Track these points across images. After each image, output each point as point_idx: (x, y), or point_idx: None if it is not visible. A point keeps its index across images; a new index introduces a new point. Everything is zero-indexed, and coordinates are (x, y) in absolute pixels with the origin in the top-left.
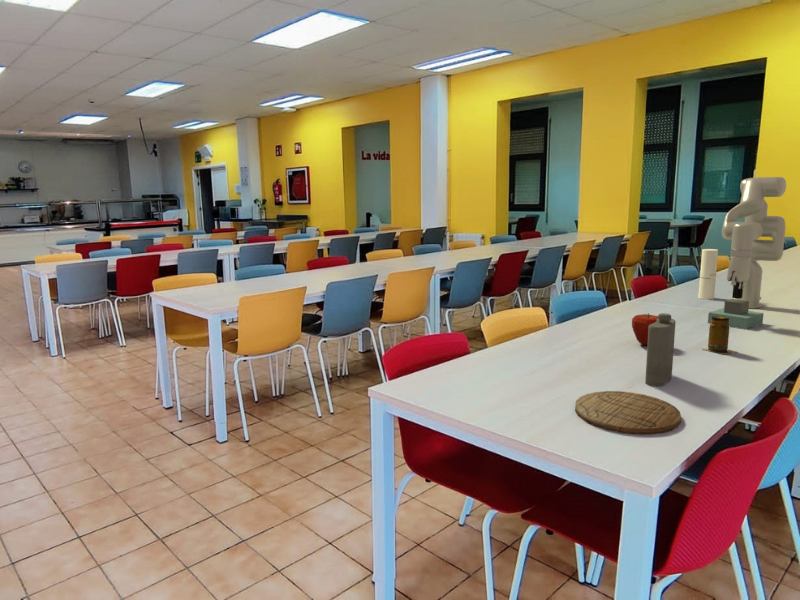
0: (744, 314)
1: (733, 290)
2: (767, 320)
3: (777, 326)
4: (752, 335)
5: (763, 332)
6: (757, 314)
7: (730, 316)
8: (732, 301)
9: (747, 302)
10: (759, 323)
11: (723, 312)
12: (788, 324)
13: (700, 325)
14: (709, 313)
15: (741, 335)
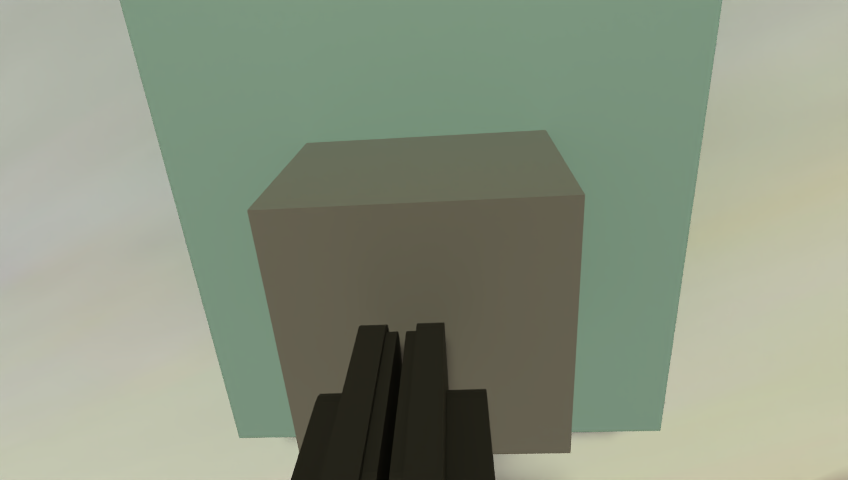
0: None
1: (333, 452)
2: (822, 322)
3: (596, 454)
4: (133, 458)
5: (293, 467)
6: None
7: (201, 284)
8: (310, 319)
9: (505, 442)
10: None
11: (311, 134)
12: (744, 475)
13: (7, 6)
14: (129, 5)
15: (57, 418)
